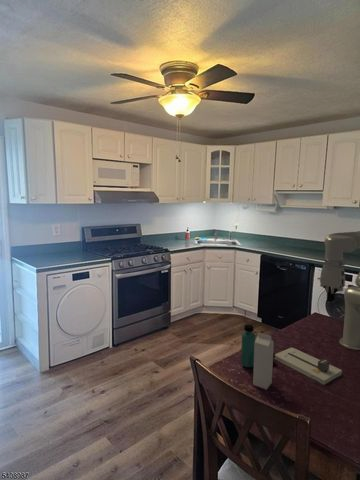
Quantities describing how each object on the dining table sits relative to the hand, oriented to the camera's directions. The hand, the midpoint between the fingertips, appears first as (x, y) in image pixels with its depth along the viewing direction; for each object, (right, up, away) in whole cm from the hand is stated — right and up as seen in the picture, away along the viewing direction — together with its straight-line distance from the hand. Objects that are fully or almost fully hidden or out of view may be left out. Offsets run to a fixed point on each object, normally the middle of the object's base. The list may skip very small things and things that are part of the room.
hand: (330, 300), depth 150 cm
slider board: (-13, -30, -4) cm, 33 cm away
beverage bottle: (-41, -30, -4) cm, 51 cm away
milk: (-37, -32, -18) cm, 52 cm away
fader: (-8, -28, -11) cm, 31 cm away
